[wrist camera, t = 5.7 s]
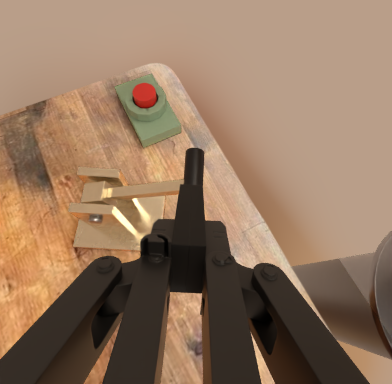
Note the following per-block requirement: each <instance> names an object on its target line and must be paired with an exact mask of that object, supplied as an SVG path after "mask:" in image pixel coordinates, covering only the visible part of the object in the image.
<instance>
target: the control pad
mask: <svg viewBox="0 0 392 384" xmlns="http://www.w3.org/2000/svg"><path fill="white" fill-rule="evenodd" d="M140 83H148V84H151V85H152V86H153V87H154V88H155V90H156V97H157V101H156V103H155V105H154V106H152V107H150V108H140V107H138V106H137V105H136V103H135V101H134V97H133V93H132V92H133V89H134V87H135V86H136V85H138V84H140ZM115 90H116V93H117V96H118V98H119V100H120V102H121V104H122V106H123V108H124V110H125V112H126V114H127V116H128V118H129V120H130V122H131V124H132V126H133V128H134V130H135V132H136V134H137V136H138V138H139V140H140V142H141V144H142V146H143V148H145V147H147V146H149V145H152V144H154V143H157V142H159V141H162V140H164V139H167V138H169V137H171V136H174V135H176V134H179V133H181V124H180V122H179V121H178V119H177V117H176V115H175V114H174V112H173V110H172V108H171V107H170V105H169V103H168V101H167V99H166V94H165V93H164V91H163V89H162V88H161V87H160V86H159V85H158V84H157V82H156V80H155V78H154V77H153V75H152V74H149V75H146V76H143V77H140V78H138V79H135V80H132V81H129V82H126V83H123V84H120V85H117V86H115Z"/></svg>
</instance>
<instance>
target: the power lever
mask: <svg viewBox="0 0 392 384" xmlns="http://www.w3.org/2000/svg"><path fill="white" fill-rule="evenodd" d="M203 170H204V151H203V150H202V149H199V148H189V149H187V150H186V156H185V170H184V179H181V180H173V181H164V182H156V183H147V184H139V185H131V186H122V187H115V186H113V185H111V184H109V183H107V182H106V181H100V182H93V183H85V184H84V188H83V193H82V197H81V202H80V203H87V204H103V205H114V206H115V207H116V205H117V200H124V199H135V198H145V197H156V196H166V195H177V194H179V188H180V184H187V185H203Z"/></svg>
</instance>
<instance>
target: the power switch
mask: <svg viewBox="0 0 392 384" xmlns="http://www.w3.org/2000/svg"><path fill="white" fill-rule="evenodd" d="M77 176H78V177H79V178H80V179H81V180H82V181H83V182H84V183H93V182H100V181H106V182H107V183H109V184H111V185H113V186H115V187H122V186H129V184H128V183H127V181H126V179H125V177H124V175H123V174H122V172H121V170H120V169H108V168H93V167H78V172H77ZM165 200H166V196H156V197H145V198H135V199H124V200H117V205H116V207H115V206H114V205H103V204H87V203H70V205H69V209H68V212H69V213H71V214H72V215H74V216H76V217H77V218H79V221H78V226H77V231H76V235H75V240H74V244H73V247H76V248H87V249H104V250H121V251H139V252H140V240H141V239H142V237H144V236H145V235H147V234H151V230H152V227H153V223H154V222H155V221H156V220H158V219H164V210H165Z"/></svg>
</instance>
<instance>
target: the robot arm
mask: <svg viewBox="0 0 392 384" xmlns="http://www.w3.org/2000/svg"><path fill="white" fill-rule="evenodd" d="M140 252H141V257H140V258H139V259H137V260H135V261H131V262H127V263H121V261H120V260H119V258H116V257H114V256H104V257H100V258H98V259H95V260H94V261H93V262H92V263H90V265H89V266H88V267H87V268H86V269H85V270H84V271H83V272H82V273H81V274H80V275H79V276H78V277H77V278H76V279H75V280H74V282H73V283H72V284H71V285H70V286H69V287H68V288H67V289H66V290H65V291H64V292H63V293H62V294H61V295H60V296H59V298H58V299H57V300H56V301H55V302H54V303H53V304H52V305H51V306H50V307H49V308H48V309H47V310H46V311H45V312H44V314H43V315H42V316H41V317H40V318H39V319H38V320H37V321H36V322H35V323H34V324H33V325H32V326H31V327H30V328H29V329H28V331H27V332H26V333H25V334H24V335H23V336H22V337H21V338H20V339H19V340H18V341H17V342H16V343H15V344H14V345H13V347H12V348H11V349H10V350H9V351H8V352H7V353H6V354H5V355H4V356H3V357H2V358H1V359H0V384H83V383H84V382H85V380H86V378H87V377H88V375H89V373H90V372H91V370H92V368H93V366H94V365H95V363H96V361H97V360H98V358H99V356H100V355H101V353H102V351H103V349H104V348H105V346H106V344H107V343H108V341H109V339H110V338H111V336H112V334H113V333H114V331H115V329H116V327H117V326H118V324H119V322H120V321H121V323H120V327H119V330H118V333H117V337H116V340H115V343H114V347H113V350H112V353H111V357H110V360H109V363H108V366H107V370H106V373H105V376H104V380H103V383H102V384H160V383H161V374H162V365H163V356H164V348H165V339H166V330H167V321H168V312H169V303H170V292H183V293H202V302H201V312H200V315H202V353H203V384H261V379H260V375H259V370H258V365H257V360H256V356H255V351H254V346H253V341H252V337H251V333H252V335H253V337H254V339H255V341H256V344H257V346H258V348H259V350H260V352H261V354H262V356H263V358H264V361H265V363H266V365H267V367H268V369H269V371H270V373H271V375H272V378H273V380H274V382H275V384H370V383H369V382H368V381H367V379H366V378H365V377H364V376H363V374H362V373H361V372H360V370H359V369H358V368H357V366H356V365H355V364H354V363H353V361H352V360H351V359H350V357H349V356H348V355H347V354H346V352H345V351H344V350H343V348H342V347H341V346H340V344H339V343H338V342H337V341H336V339H335V338H334V337H333V335H332V334H331V333H330V332H329V330H328V329H327V328H326V326H325V325H324V324H323V322H322V321H321V320H320V319H319V317H318V316H317V315H316V313H315V312H314V311H313V310H312V308H311V307H310V306H309V304H308V303H307V302H306V300H305V299H304V298H303V297H302V295H301V294H300V293H299V291H298V290H297V289H296V288H295V286H294V285H293V284H292V282H291V281H290V280H289V278H288V277H287V276H286V275H285V273H284V272H283V271H282V270H281V269H280V268H279V267H277V266H275V265H273V264H269V263H260V264H257V265H256V266H255V267H254V269H251V268H247V267H244V266H242V265H240V264H238V263H237V262H236V261H235V259H234V257H233V256H232V255H231V252H230V247H229V242H228V238H227V232H226V227H225V226H224V224H223V223H222V222H221V221H205V215H204V199H203V185H187V184H180V188H179V195H178V202H177V209H176V216H175V219H158V220H156V221H155V222H154V223H153V227H152V230H151V234H147V235H145V236H144V237H142V239H141V240H140ZM121 319H122V320H121ZM250 331H251V332H250Z"/></svg>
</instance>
